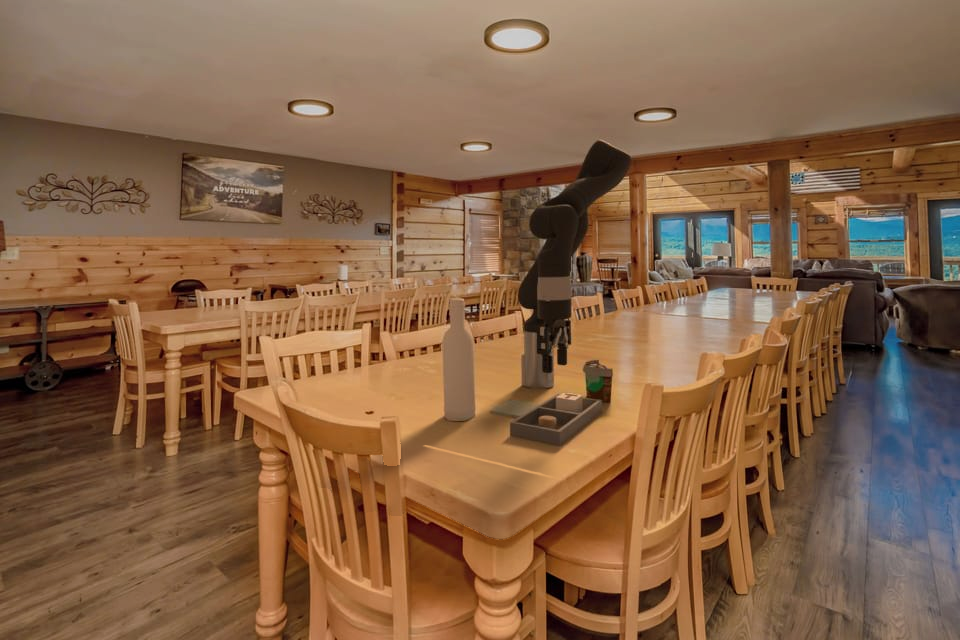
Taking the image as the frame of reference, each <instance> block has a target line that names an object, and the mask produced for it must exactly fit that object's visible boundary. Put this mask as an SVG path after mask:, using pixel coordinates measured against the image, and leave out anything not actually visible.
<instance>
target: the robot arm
mask: <svg viewBox="0 0 960 640" xmlns="http://www.w3.org/2000/svg"><path fill="white" fill-rule="evenodd" d="M631 165H632V157H631V155H630V154H629V153H627V152H626V151H624V150H623V149H621V148H618V147H617V146H615V145H612V144H611V143H608V142H606V141H605V140H602V139H598V140H595V142H594V143H593V144H592V146H591V147H590V148H589V149H588V152H587V153H586V155H585V157H584V159H583V162H582V163H581V166H580V168H579V171H578V173H577V176H576V178H575V180H574V181H572V182H570V184H568V185H567V186H566V187H565V188H564V189H563V190H562V191H561V192H560V193H559V194H558V195H556V196H555V197H552V198H550V199H548V200H547V201H544V202H543V203H541V204H540V205H538V206H537V207H536V208H535V209H534V210H533V211H532V213H531V215H530V218H529V221H528V226H529V227H528V228H529V230H530V232H531V234H532V235H533V236H534V237H535V238H537V239H542V240H545V242H544V244H543V246H542V247H541V248H540V251H539V254H538V255H537V257H536V259H535V260H534V263H533V264H532V266H531V267H530V269H529V271H528V272H527V274H525V277H524V278H523V279H522V281H521V283H520V285H519V287H518V291H517V301H518V303H519V305H520V306H521V307H522V308H523V309H526V310H532V313H531V316H529V318H527V319H526V320H525V321H524V323H523V354H522V355H521V356H520V357H521V366H520V367H521V386H525V387H526V388H531V389H550V388H553V387H554V386H555V348H557V349H556V357H557V358H556V362H557V365H558V366H566V365H568V349H569V347H570V346H571V345H572V323H571V322H572V321H571V318H572V316H573V314H572V313H573V312H572V309H573V307H572V303H573V302H572V283H571V282H572V280H571V258H572V256H574V255H575V254H576V252H577V251H578V249H579V248H580V246H581V244H582V242H583V240H584V239H585V238H586V235H587V233H588V230H589V215H588V209H589V208H590V206H592V205H593V204H594V203H595V202H596V201H597V200H598V199H600V198H602V197H603V196H605V195H606V194H608V193H609V192H611V191H612V190H613V189H615V188H616V187H617V186H619V184H620V183H622V181H623V179H624V178H625V177H626V176H627V174H628V172H629V169H630V167H631Z"/></svg>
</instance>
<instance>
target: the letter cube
mask: <svg viewBox="0 0 960 640" xmlns="http://www.w3.org/2000/svg"><path fill="white" fill-rule="evenodd" d="M560 394H561V395H559V396H557V397H556V410H562V411H568V412H574V413H582V409H583V398H584V395H583V394H578V393H577V394H576V393H569V392H562V393H560Z"/></svg>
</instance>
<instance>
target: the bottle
mask: <svg viewBox="0 0 960 640" xmlns="http://www.w3.org/2000/svg"><path fill="white" fill-rule="evenodd" d="M448 303H449V304H448V306H449V318H450V319H449V325H450V326H449V328H448V329H447V330H446V331H445V332H444V335H443V338H442V342H441V344H442V374H443V377H442V379H443V380H442V381H443V403H444V404H443V412H444V419H445V420H447V421H449V420H450V422H455V421H457V422H458V421H463V422H467V421H470V420H472V419H474V418H476V393H475V391H476V389H475V388H476V387H475V386H476V384H475V348H474V345H475V343H474V342H475V341H474V337H473V334H472V332H471V331H470V330H469V329H468V328H467V327H466V319H465V318H466V317H465V316H466V315H465V309H466V308H465V307H466V303H465V299H464V298H461V297H459V298H456V297H455V298H450V299H449V302H448Z"/></svg>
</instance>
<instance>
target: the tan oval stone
mask: <svg viewBox="0 0 960 640" xmlns="http://www.w3.org/2000/svg"><path fill="white" fill-rule="evenodd" d="M539 427H544V428H549V429H555V430H556V418H555V417H553V416H541V417H539Z"/></svg>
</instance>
